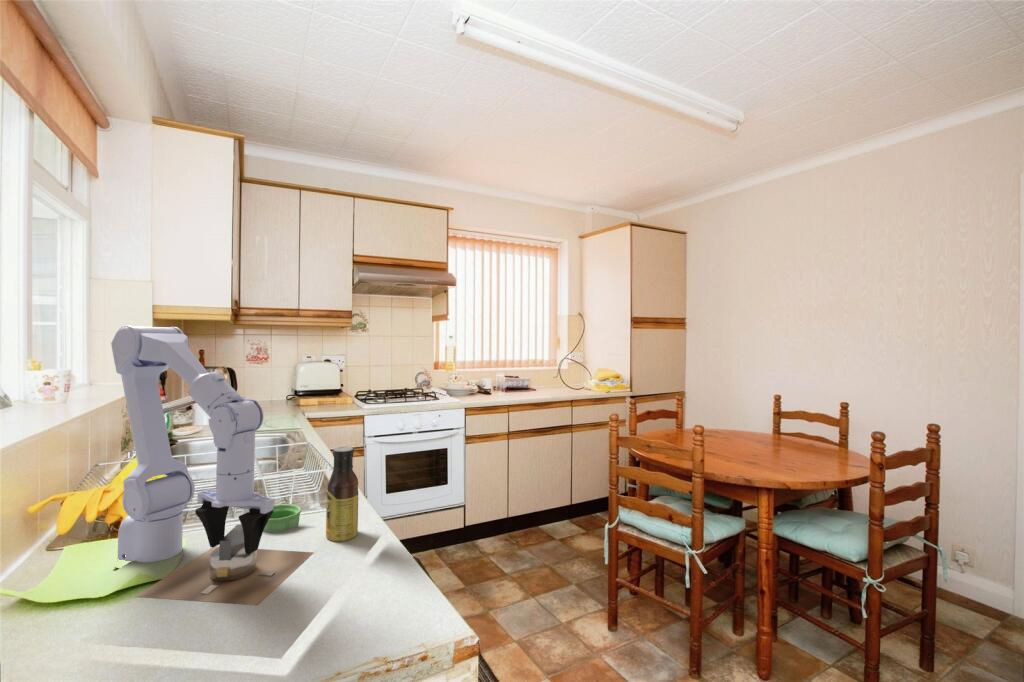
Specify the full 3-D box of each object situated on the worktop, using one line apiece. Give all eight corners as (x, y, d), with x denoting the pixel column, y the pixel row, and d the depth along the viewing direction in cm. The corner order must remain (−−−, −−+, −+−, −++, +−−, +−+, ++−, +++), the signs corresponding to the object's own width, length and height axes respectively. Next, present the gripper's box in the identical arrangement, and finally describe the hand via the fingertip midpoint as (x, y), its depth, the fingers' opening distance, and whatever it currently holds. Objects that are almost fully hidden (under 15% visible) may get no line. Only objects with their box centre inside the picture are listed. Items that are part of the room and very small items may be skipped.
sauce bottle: (330, 536, 103) (332, 444, 102) (360, 536, 103) (362, 444, 103) (321, 550, 96) (323, 451, 96) (353, 549, 97) (355, 451, 96)
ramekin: (304, 534, 104) (304, 514, 103) (257, 543, 99) (257, 522, 98) (296, 520, 111) (297, 501, 111) (252, 528, 106) (253, 508, 106)
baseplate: (135, 605, 75) (135, 595, 75) (214, 553, 93) (214, 545, 93) (257, 614, 74) (257, 603, 74) (313, 560, 92) (313, 551, 92)
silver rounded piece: (221, 561, 86) (221, 524, 86) (262, 560, 87) (263, 523, 87) (198, 584, 79) (199, 544, 78) (244, 582, 80) (245, 542, 79)
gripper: (181, 472, 81) (180, 551, 82) (251, 481, 77) (249, 565, 78) (217, 462, 88) (216, 535, 88) (283, 470, 84) (281, 546, 84)
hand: (233, 548), depth 83 cm, fingers open, 7 cm apart
